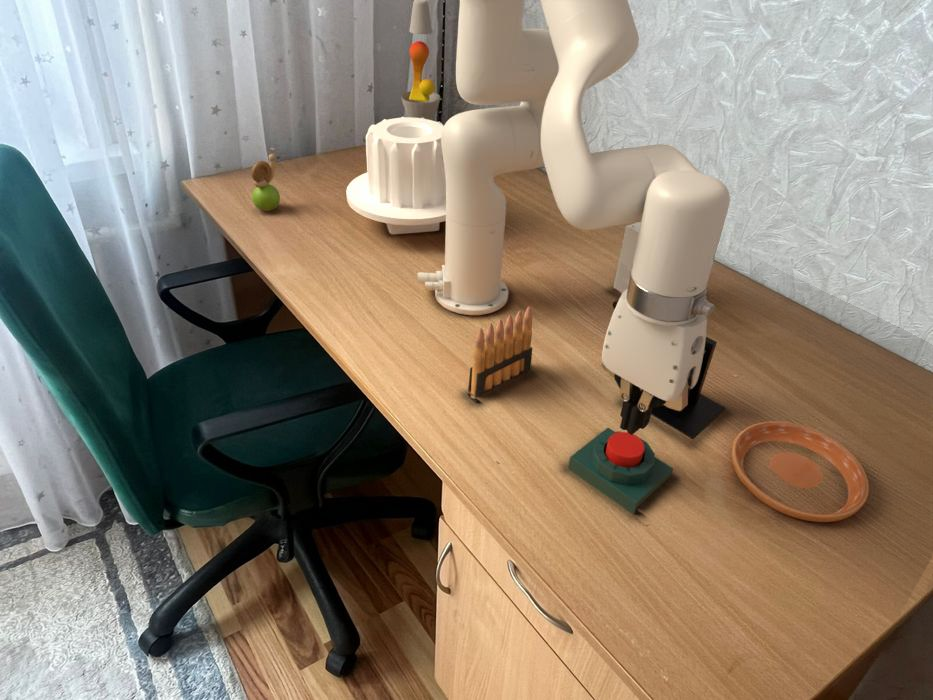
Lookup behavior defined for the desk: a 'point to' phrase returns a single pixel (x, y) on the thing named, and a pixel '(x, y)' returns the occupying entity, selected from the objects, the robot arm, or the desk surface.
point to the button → (624, 449)
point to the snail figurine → (265, 184)
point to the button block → (619, 472)
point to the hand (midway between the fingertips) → (632, 426)
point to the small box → (627, 257)
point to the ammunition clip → (501, 354)
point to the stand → (693, 403)
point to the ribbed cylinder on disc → (402, 176)
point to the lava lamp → (420, 68)
